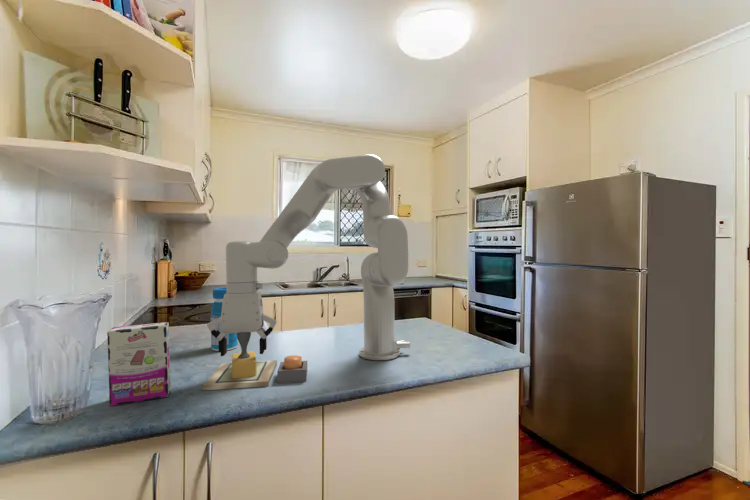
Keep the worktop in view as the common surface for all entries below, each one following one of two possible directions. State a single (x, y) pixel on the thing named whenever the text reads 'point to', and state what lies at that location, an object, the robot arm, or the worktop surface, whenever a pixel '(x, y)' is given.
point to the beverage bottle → (216, 313)
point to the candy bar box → (138, 363)
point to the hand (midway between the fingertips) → (243, 353)
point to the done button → (293, 362)
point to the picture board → (225, 380)
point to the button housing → (292, 374)
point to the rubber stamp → (244, 359)
